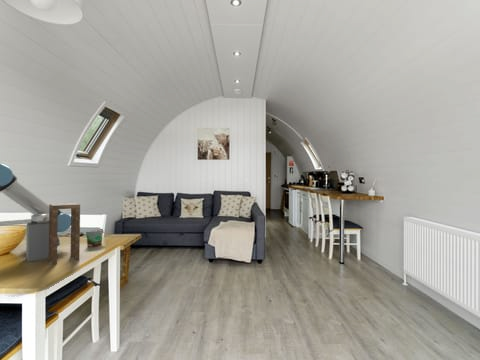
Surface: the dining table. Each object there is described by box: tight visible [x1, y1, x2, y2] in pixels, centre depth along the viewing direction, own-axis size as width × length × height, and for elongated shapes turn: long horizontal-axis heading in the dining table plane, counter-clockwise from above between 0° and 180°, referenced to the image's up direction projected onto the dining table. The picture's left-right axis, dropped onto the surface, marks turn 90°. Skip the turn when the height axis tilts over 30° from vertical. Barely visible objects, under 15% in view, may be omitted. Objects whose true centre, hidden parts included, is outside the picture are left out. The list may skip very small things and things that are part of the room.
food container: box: [85, 228, 105, 248], centre depth 166 cm, size 12×6×10 cm, turn 168°
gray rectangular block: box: [25, 223, 49, 263], centre depth 139 cm, size 8×10×20 cm
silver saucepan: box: [0, 214, 49, 227], centre depth 135 cm, size 9×22×4 cm, turn 135°
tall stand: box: [48, 202, 81, 265], centre depth 136 cm, size 10×12×30 cm
